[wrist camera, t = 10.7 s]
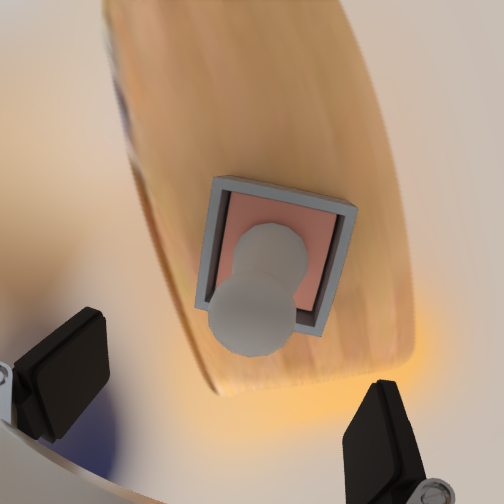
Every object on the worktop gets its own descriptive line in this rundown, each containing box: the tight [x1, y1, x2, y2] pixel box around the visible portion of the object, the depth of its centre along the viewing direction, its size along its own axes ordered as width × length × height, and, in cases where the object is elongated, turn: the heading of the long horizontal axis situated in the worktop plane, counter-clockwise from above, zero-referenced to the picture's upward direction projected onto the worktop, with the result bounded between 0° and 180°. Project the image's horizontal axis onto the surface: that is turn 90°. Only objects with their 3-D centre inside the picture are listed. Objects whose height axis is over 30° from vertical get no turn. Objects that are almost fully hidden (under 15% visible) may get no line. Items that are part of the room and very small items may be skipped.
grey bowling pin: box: [208, 223, 308, 357], centre depth 20 cm, size 6×6×13 cm
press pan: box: [215, 191, 337, 311], centre depth 27 cm, size 9×9×1 cm
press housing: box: [194, 175, 358, 337], centre depth 27 cm, size 11×11×5 cm
